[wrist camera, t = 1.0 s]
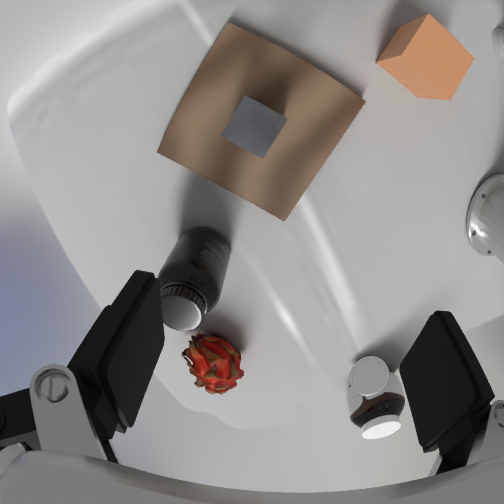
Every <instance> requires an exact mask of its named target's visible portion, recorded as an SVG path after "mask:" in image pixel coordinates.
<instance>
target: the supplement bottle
mask: <svg viewBox="0 0 504 504" xmlns="http://www.w3.org/2000/svg"><path fill="white" fill-rule="evenodd" d="M229 259H230V249H229V246H228V243H227V241H226V240H225V239H224V237H223V236H222V235H221V234H219V233H218V232H216V231H215V230H213V229H210V228H206V227H196V228H192V229H189V230H188V231H186V232H185V233H184V234H183V235H182V236H181V237H180V238H179V240H178V241H177V243H176V245H175V246H174V248H173V250H172V252H171V253H170V255H169V257H168V258H167V260H166V262H165V263H164V265H163V267H162V269H161V270H160V273H159V275H158V277H157V278H158V279H159V281H160V292H161V305H162V316H163V323H164V324H165V325H167V326H168V327H170V328H172V329H176V330H180V331H191V330H194V329H195V328H198V326H200V325H201V323H202V321H203V318H204V316H205V314H206V313H207V312H209V311H211V310H212V309H213V308H214V307H215V306H216V304H217V303H218V301H219V298H220V294H221V291H222V287H223V283H224V279H225V275H226V271H227V267H228V263H229Z"/></svg>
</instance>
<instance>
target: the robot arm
mask: <svg viewBox="0 0 504 504" xmlns="http://www.w3.org/2000/svg"><path fill="white" fill-rule="evenodd" d="M466 229H467V236H468V239H469V242H470V244H471V246H472V247H473V248H474V249H475V250H476V251H477V252H478V253H479V254H481V255H484V256H493V255H495V256H496V257H498V258H499V260H500V261H501V262H502V263H503V264H504V174H496V175H493V176H491V177H490V178H488V179H487V180H486V181H485V182H484V183H483V184H482V185H481V186H480V187H479V189H478V190H477V191H476V193H475V195H474V197H473V199H472V201H471V204H470V207H469V210H468V214H467V222H466ZM164 340H165V336H164V326H163V316H162V305H161V292H160V281H159V279H158V278H155V275H154V273H151V272H146V271H140V270H136V271H135V272H134V273H133V274H132V276H131V277H130V279H129V280H128V282H127V283H126V284H125V286H124V287H123V289H122V290H121V292H120V293H119V295H118V296H117V297H116V299H115V300H114V302H113V303H112V305H108V306H106V307H105V308H104V309H103V311H102V312H101V314H100V315H99V317H98V318H97V320H96V321H95V323H94V324H93V326H92V327H91V329H90V330H89V332H88V333H87V335H86V337H85V338H84V340H83V342H82V343H81V344H80V346H79V348H78V349H77V351H76V353H75V354H74V356H73V358H72V359H71V361H70V362H69V364H68V366H67V367H64V366H63V365H58V364H51V365H47V366H44V367H42V368H40V369H39V370H38V371H36V373H35V374H34V375H33V377H32V379H31V382H30V388H27V389H24V390H21V391H17V392H14V393H11V394H8V395H5V396H1V397H0V504H504V401H503V400H497V401H495V402H494V403H493V404H492V405H490V401H491V400H492V399H493V398H494V397H495V395H494V393H493V391H492V389H491V386H490V384H489V382H488V380H487V378H486V376H485V374H484V371H483V369H482V367H481V365H480V363H479V361H478V359H477V358H476V356H475V354H474V352H473V350H472V348H471V346H470V344H469V343H468V341H467V339H466V337H465V335H464V333H463V332H462V330H461V328H460V326H459V325H458V323H457V321H456V320H455V318H454V316H453V315H452V313H451V312H449V311H436V312H434V314H432V315H431V316H430V317H429V319H428V321H427V322H426V324H425V326H424V327H423V329H422V331H421V333H420V334H419V336H418V337H417V339H416V341H415V342H414V344H413V346H412V347H411V349H410V350H409V352H408V353H407V355H406V356H405V358H404V359H403V361H402V362H401V364H400V369H399V371H400V375H401V378H402V381H403V384H404V388H405V391H406V395H407V398H408V402H409V405H410V409H411V412H412V416H413V420H414V424H415V428H416V432H417V436H418V440H419V444H420V445H421V446H422V447H423V452H424V453H426V452H431V451H435V450H436V449H438V448H439V451H440V452H439V454H438V456H437V459H436V461H435V463H434V465H433V467H432V469H431V471H430V474H429V475H428V477H426V478H422V479H418V480H413V481H409V482H404V483H399V484H394V485H388V486H382V487H375V488H367V489H359V490H349V491H338V492H319V493H279V492H260V491H248V490H238V489H230V488H222V487H216V486H209V485H203V484H198V483H192V482H187V481H182V480H177V479H172V478H168V477H164V476H160V475H156V474H152V473H148V472H145V471H141V470H137V469H134V468H131V467H127V466H123V465H121V462H120V460H119V458H118V456H117V454H116V452H115V449H114V447H113V445H112V443H111V440H110V439H112V438H113V435H114V432H115V431H118V432H121V433H124V434H125V432H126V429H127V427H130V428H131V427H132V426H133V425H134V422H135V420H136V417H137V414H138V411H139V409H140V406H141V403H142V400H143V398H144V395H145V392H146V390H147V387H148V384H149V382H150V379H151V377H152V374H153V371H154V369H155V366H156V364H157V361H158V359H159V356H160V354H161V351H162V349H163V346H164Z"/></svg>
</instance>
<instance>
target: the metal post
mask: <svg viewBox="0 0 504 504" xmlns="http://www.w3.org/2000/svg"><path fill="white" fill-rule="evenodd" d="M287 120H288V119H287V118H286V117H285V116H284V115H283V114H281V113H280V112H278V111H276V110H274V109H273V108H271V107H269V106H267V105H265V104H264V103H262V102H260V101H258V100H256V99H255V98H253V97H251V96H247V95H244V97H243V99H242V100H241V102H240V104H239V105H238V107H237V109H236V110H235V112H234V114H233V115H232V117H231V119H230V121H229V122H228V124H227V126H226V127H225V129H224V131H223V133H222V135H221V137H223V138H225V139H227V140H229V141H231V142H233V143H234V144H236V145H238V146H240V147H242V148H244V149H245V150H247V151H249V152H251V153H253V154H254V155H256V156H258V157H260V158H261V159H263V158H264V157H265V155H266V153H267V152H268V150H269V148H270V147H271V145H272V144H273V142H274V140H275V139H276V137H277V136H278V134H279V133H280V131H281V129H282V128H283V126H284V125H285V123H286V122H287Z"/></svg>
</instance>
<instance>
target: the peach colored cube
mask: <svg viewBox="0 0 504 504" xmlns="http://www.w3.org/2000/svg"><path fill="white" fill-rule="evenodd" d="M473 60H474V58H473V57H472V55H471V54H470V53H469V52H468V51H467V50H466V49H465V48H464V47H463V46H462V45H461V44H460V43H459V42H458V40H457V39H456V38H455V37H454V36H453V35H452V34H451V33H450V32H448V31H447V30H446V29H445V28H444V27H443V26H442V25H441V24H440V23H439V22H438V21H437V20H436V19H435V18H433V17H432V16H431V15H430V14H429V13H428V14H426V15H424V16H421V17H419V18H417V19H415V20H412V21H410V22H408V23H406V24H404V25H402V26H400V27H399V29H398V30H397V31H396V33H395V34H394V36H393V37H392V39H391V40H390V42H389V43H388V45H387V46H386V48H385V49H384V51H383V52H382V54H381V55H380V57H379V58H378V60H377V61H376V63H377V64H378V65H379V66H381V67H382V68H383V69H385V70H386V71H387V72H388V73H390V74H391V75H392V76H393V77H395V78H396V79H397V80H398V81H399V82H401V83H402V84H403V85H404V86H405V87H406V88H408V89H409V90H410V91H411V92H412V93H413V94H414V95H415V96H417V97H418V98H431V99H442V100H451V98H452V96H453V95H454V93H455V91H456V89H457V88H458V86H459V84H460V83H461V81H462V79H463V77H464V76H465V74H466V72H467V70H468V69H469V67H470V65H471V63H472V61H473Z"/></svg>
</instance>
